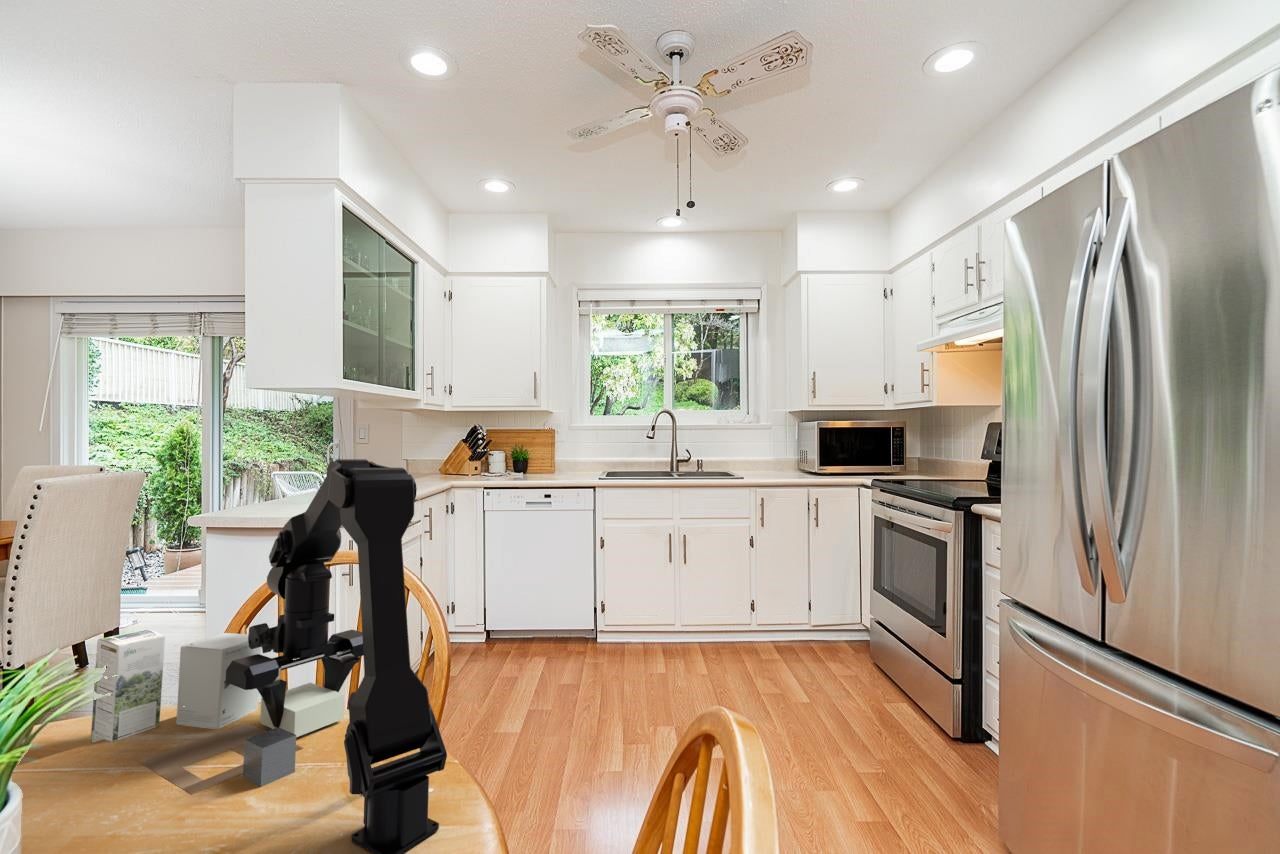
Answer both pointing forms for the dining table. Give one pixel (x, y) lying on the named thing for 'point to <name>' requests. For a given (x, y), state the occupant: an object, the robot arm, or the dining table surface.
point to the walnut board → (201, 758)
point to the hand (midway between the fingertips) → (303, 717)
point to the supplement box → (213, 682)
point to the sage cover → (307, 709)
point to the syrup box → (128, 685)
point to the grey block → (269, 756)
